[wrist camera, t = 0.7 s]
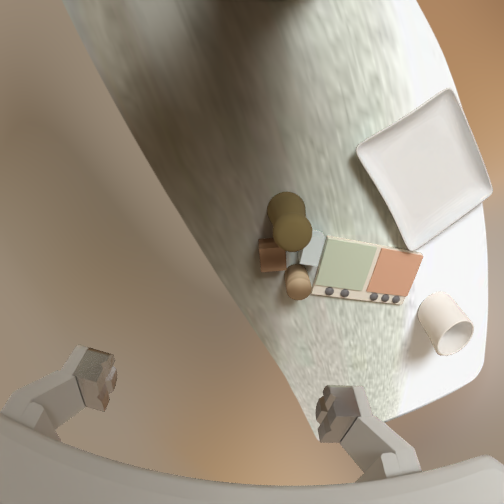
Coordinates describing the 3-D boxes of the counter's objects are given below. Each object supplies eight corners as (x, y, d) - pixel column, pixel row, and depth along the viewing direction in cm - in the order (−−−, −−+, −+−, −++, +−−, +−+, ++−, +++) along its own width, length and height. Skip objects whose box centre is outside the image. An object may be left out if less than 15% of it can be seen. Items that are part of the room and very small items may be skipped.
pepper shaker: (286, 183, 47) (294, 204, 38) (313, 209, 49) (327, 236, 39) (259, 211, 49) (259, 238, 40) (286, 235, 51) (293, 267, 41)
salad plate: (346, 146, 45) (352, 148, 42) (441, 85, 39) (452, 85, 36) (403, 247, 52) (411, 255, 49) (484, 187, 46) (494, 192, 43)
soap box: (304, 228, 51) (306, 235, 48) (321, 231, 51) (325, 238, 48) (297, 255, 53) (299, 263, 50) (314, 258, 53) (317, 266, 50)
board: (326, 235, 51) (328, 238, 50) (420, 252, 52) (423, 255, 51) (311, 291, 56) (312, 295, 55) (400, 302, 57) (402, 305, 56)
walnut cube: (258, 238, 52) (258, 249, 48) (283, 236, 51) (285, 246, 48) (260, 260, 53) (261, 272, 50) (284, 258, 53) (286, 270, 49)
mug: (409, 337, 61) (427, 371, 51) (420, 292, 56) (444, 324, 46) (441, 331, 60) (461, 363, 51) (454, 287, 55) (479, 317, 46)
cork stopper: (287, 262, 53) (289, 277, 49) (309, 265, 53) (314, 280, 49) (282, 282, 55) (284, 298, 50) (304, 285, 55) (308, 301, 51)
